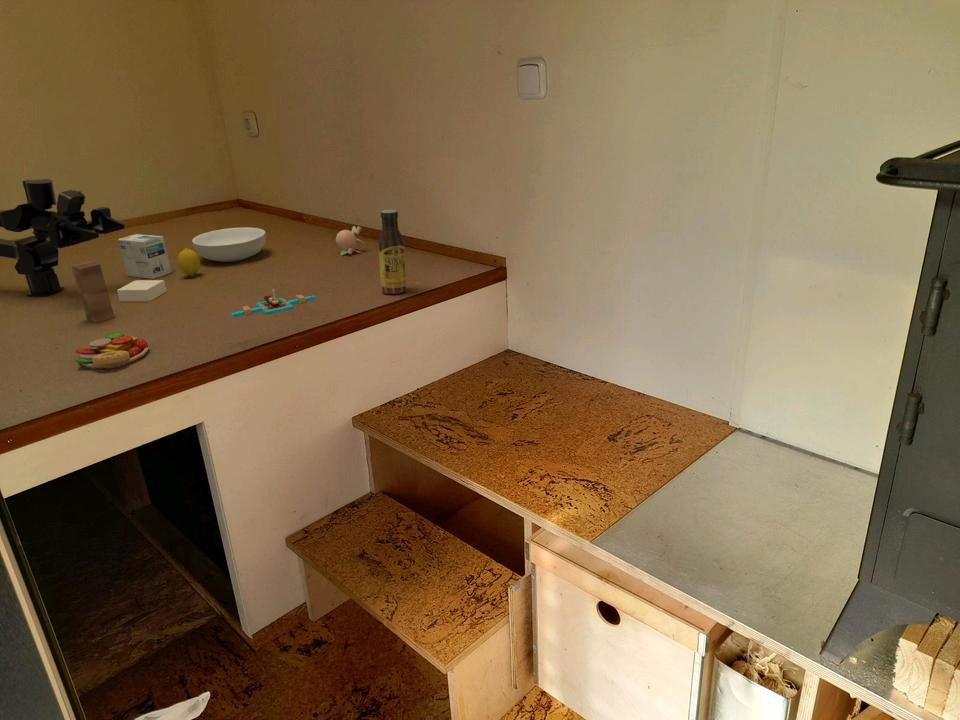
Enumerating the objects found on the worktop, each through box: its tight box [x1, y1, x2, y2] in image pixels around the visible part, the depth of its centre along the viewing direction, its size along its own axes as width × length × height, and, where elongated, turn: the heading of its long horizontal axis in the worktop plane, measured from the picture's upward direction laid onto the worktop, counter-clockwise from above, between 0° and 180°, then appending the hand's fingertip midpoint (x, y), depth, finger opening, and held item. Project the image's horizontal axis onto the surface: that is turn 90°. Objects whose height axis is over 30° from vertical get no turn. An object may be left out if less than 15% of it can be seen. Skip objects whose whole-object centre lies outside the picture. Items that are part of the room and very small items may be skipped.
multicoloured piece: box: [230, 288, 317, 318], centre depth 164 cm, size 20×5×9 cm
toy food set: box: [75, 332, 150, 369], centre depth 139 cm, size 13×13×3 cm
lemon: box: [177, 247, 201, 277], centre depth 190 cm, size 6×6×8 cm
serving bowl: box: [191, 227, 267, 263], centre depth 207 cm, size 21×21×7 cm
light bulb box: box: [117, 233, 172, 280], centre depth 193 cm, size 11×7×11 cm, turn 65°
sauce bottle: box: [378, 209, 407, 295], centre depth 167 cm, size 6×6×20 cm
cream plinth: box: [116, 279, 167, 302], centre depth 176 cm, size 8×8×3 cm
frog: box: [335, 225, 366, 256], centre depth 206 cm, size 10×8×8 cm
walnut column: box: [71, 260, 116, 324], centre depth 160 cm, size 4×4×13 cm
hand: (111, 230), depth 171 cm, fingers open, 9 cm apart
